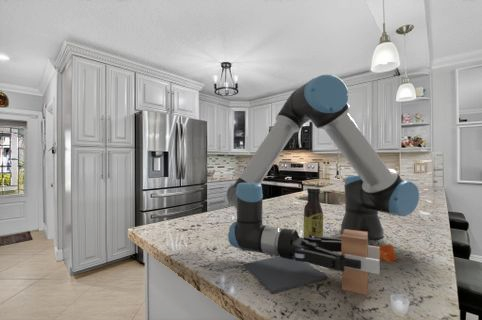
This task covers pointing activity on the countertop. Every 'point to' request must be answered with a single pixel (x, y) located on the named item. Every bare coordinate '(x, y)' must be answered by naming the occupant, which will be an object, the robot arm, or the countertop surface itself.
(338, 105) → the robot arm
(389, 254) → the rock
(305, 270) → the mat
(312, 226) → the sauce bottle
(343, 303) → the countertop surface
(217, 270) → the countertop surface
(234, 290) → the countertop surface
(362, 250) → the block
